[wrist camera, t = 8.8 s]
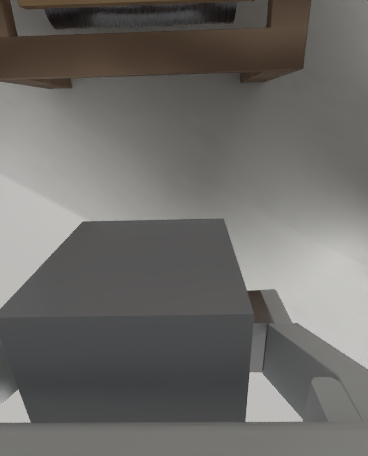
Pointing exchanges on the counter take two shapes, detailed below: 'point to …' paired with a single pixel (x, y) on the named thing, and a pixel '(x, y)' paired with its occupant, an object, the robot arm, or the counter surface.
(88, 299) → the stone block
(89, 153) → the counter surface
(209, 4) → the trapdoor
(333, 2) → the counter surface
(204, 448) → the robot arm
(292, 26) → the trapdoor frame
